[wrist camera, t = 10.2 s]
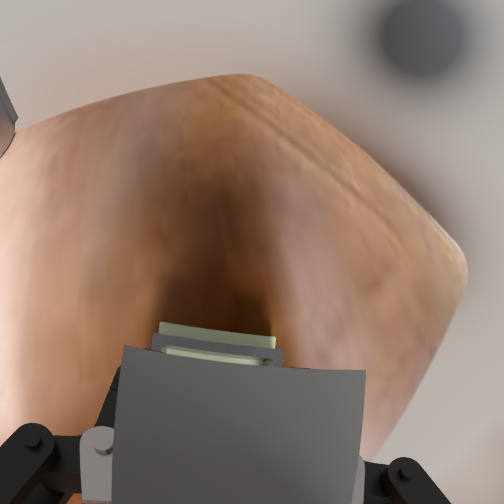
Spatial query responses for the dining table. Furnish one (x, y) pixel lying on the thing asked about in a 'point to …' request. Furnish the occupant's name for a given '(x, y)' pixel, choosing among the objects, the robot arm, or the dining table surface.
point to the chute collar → (218, 349)
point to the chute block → (234, 432)
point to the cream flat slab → (216, 337)
